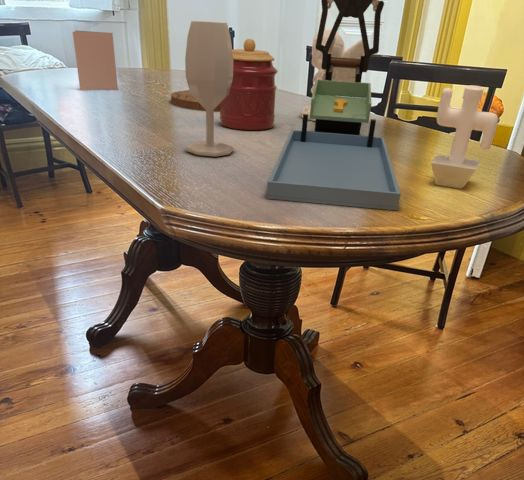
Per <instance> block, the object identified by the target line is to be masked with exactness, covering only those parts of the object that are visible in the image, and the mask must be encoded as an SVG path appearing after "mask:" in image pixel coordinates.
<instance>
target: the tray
mask: <svg viewBox="0 0 524 480" xmlns="http://www.w3.org/2000/svg"><path fill="white" fill-rule="evenodd" d="M301 133H302V130H299V129H298V130H297V129H291V131H290V132H289V135H288V137H287V139H286V141H285V143H284V146H283V147H282V150H281V152H280V154H279V157H278V159H277V161H276V163H275V165H274V167H273V169H272V171H271V174H270V176H269V178H268V180H267V185H266V199H267V200H279V201H288V202H289V201H290V202H300V203H310V204H312V203H313V204H320V205H321V204H322V205H323V204H324V205H333V206H345V207H354V208H364V209H376V210H387V211H398V209H399V204H400V198H401V194H402V193H401V190H400V187H399V184H398V181H397V177H396V174H395V171H394V167H393V164H392V160H391V157H390V153H389V151H388V150H389V149H388V147H387V144H386V140H385V137H384V136H373V143H372V148H369V147H367V142H368V135H361V134H360V135H349V134H336V133H324V132H315V131H313V130H312V131H310V130H307V132H306V142H301Z"/></svg>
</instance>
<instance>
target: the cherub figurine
mask: <svg viewBox="0 0 524 480" xmlns="http://www.w3.org/2000/svg"><path fill="white" fill-rule="evenodd" d="M331 30H332V28H325V30H324V35H323V40H322V45H324V46H325V44H326V42H327V40H328V37H329V35H330V33H331ZM317 36H318V31H317V32H316V34H315V35H314V37H312V38H313V39H312V46H311V62H310V63H311V66H312V67H314V68H316V69H317V70H318V71H317V72H316V73H315V75H314V76H313V78H312V83H313V84H312V87H311V89H310V93H311V94H312V95H313V90H314V86H315V82H316V79H319V80H325V76H326V70H324V69H322V67H321V66H322V57H323V54H322V52H321V51H319V50H317V49H316V41H317ZM328 54H331V57H339V58H354V59H361V56H364V48H363V42H362V39H360V40H358V41H357V42H356V43H354V44H353V45H352V46H350V47H348V48H347V49H345V41H344V39H343V37H342V36H341V35H340V33H339V32H338V31H337V32H336V35H335V37H334V39H333V42H332V44H331V46H330V49H329V51H328ZM355 71H356V69H354V68H340V67H333V73H332V80H333V81H347V82H355ZM328 96H330V95H328ZM310 110H311V102H310V103H309V104H307V106H304V108H302V109H301V111H300V117H301V118H302V119H303V114H308V121H312V122H316V119H310Z"/></svg>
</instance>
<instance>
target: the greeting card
mask: <svg viewBox="0 0 524 480" xmlns="http://www.w3.org/2000/svg"><path fill="white" fill-rule="evenodd" d="M72 38H73V46H74V53H75V61H76V69H77V76H78V84H79V91H114V90H115V91H116V90H119V88H118V87H119V85H118V75H117V65H116V55H115V45H114V34H113V32H108V31H107V32H106V31H105V32H104V31H91V30H90V31H88V30H76V29H75V30H74V31H72Z"/></svg>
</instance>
